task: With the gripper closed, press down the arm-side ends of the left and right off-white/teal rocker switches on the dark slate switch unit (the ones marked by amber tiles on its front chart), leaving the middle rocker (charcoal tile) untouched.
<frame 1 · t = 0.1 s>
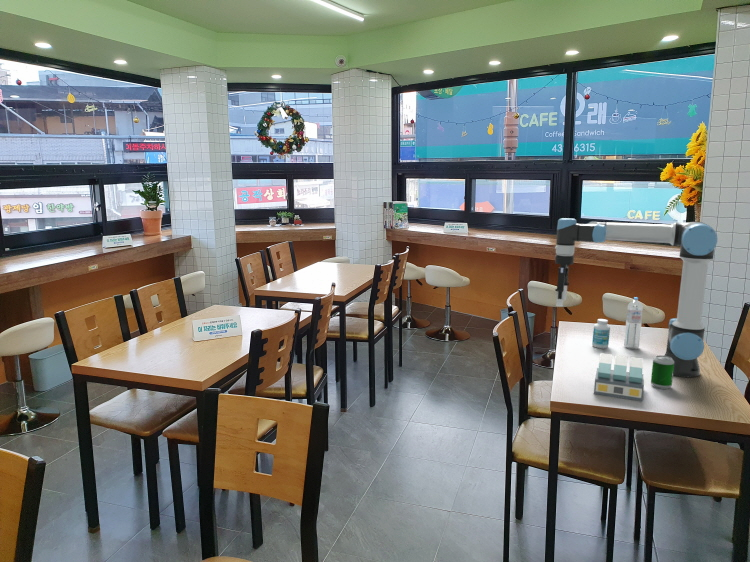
hand: (561, 303, 248), 28 cm above the table, fingers open, 13 cm apart
soda can: (660, 386, 228), on the table
switch unit: (618, 391, 222), on the table
pill bottle: (600, 347, 280), on the table
rocker 2: (620, 367, 221), point 10 cm above the table, hinge at -21.0°
rocker 1: (635, 369, 218), point 10 cm above the table, hinge at -21.0°
water bottle: (631, 347, 279), on the table
rocker 3: (605, 365, 223), point 10 cm above the table, hinge at -21.0°
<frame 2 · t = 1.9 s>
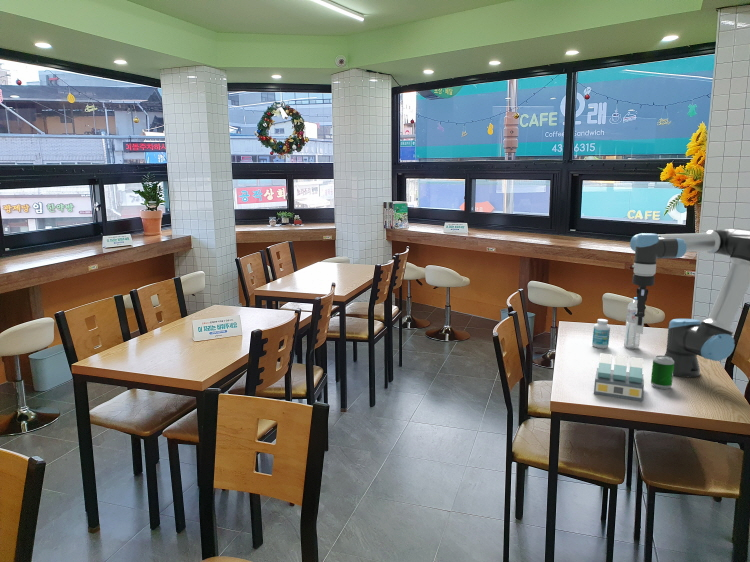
hand: (638, 329, 220), 24 cm above the table, fingers open, 12 cm apart
nothing on the table moved.
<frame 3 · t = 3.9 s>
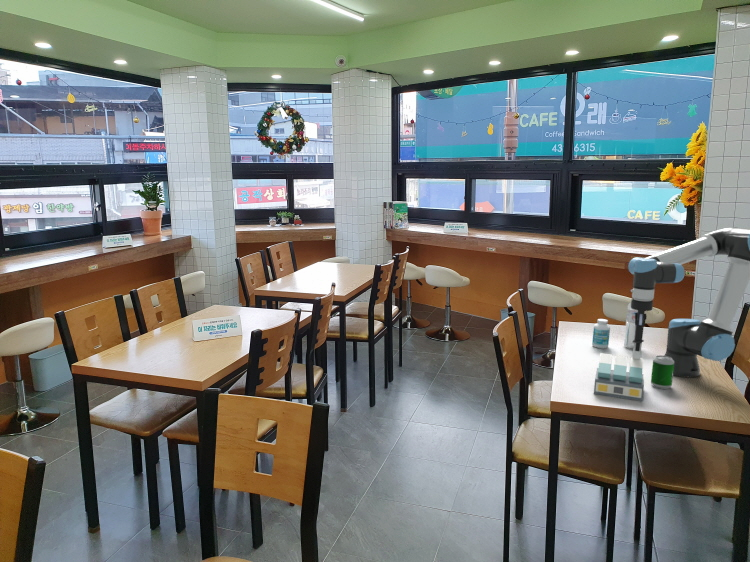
hand: (636, 358, 222), 13 cm above the table, fingers closed
rocker 1: (635, 369, 218), point 10 cm above the table, hinge at -21.0°, touching gripper
everything else where it was.
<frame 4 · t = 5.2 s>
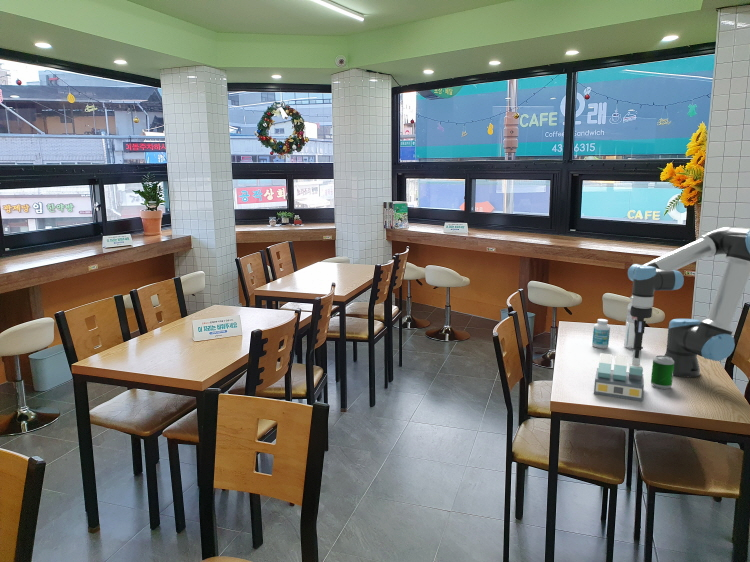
hand: (635, 365, 222), 10 cm above the table, fingers closed
rocker 1: (635, 369, 218), point 10 cm above the table, hinge at 10.5°, touching gripper
everything else where it was.
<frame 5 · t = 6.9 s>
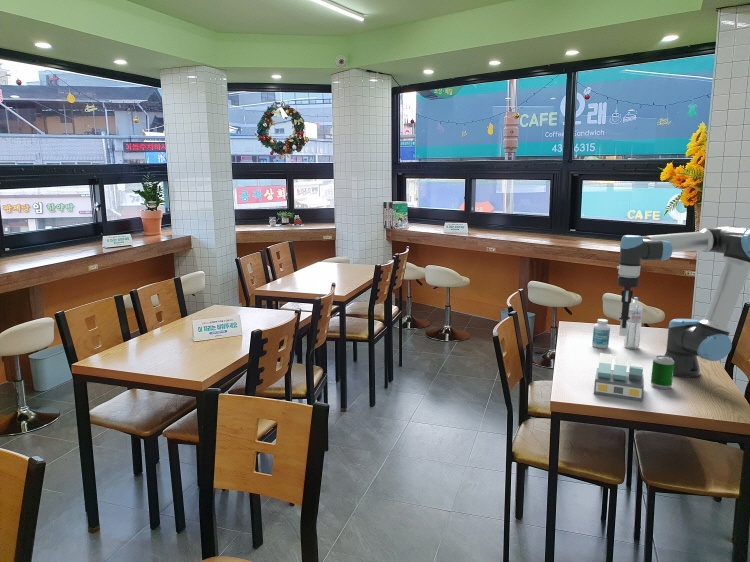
hand: (623, 335, 222), 21 cm above the table, fingers closed
rocker 1: (635, 369, 218), point 10 cm above the table, hinge at 10.6°
everything else where it was.
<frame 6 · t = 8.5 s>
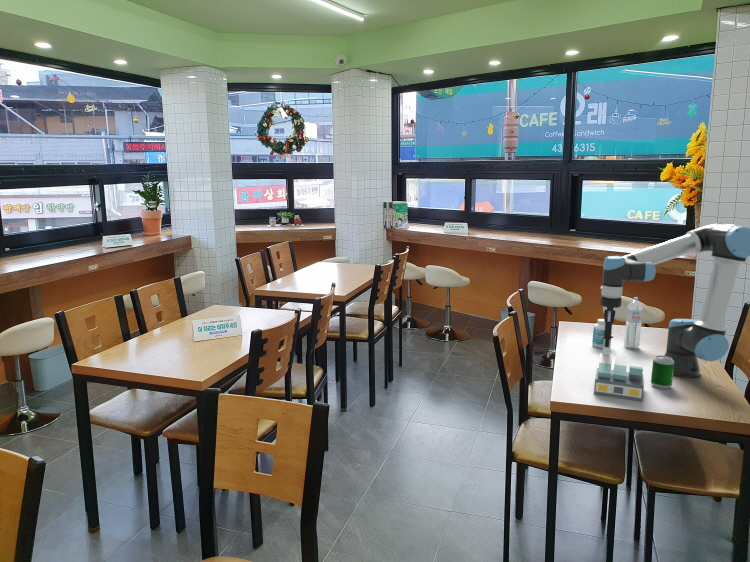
hand: (606, 354, 226), 13 cm above the table, fingers closed
rocker 3: (605, 365, 223), point 10 cm above the table, hinge at -21.0°, touching gripper
everything else where it was.
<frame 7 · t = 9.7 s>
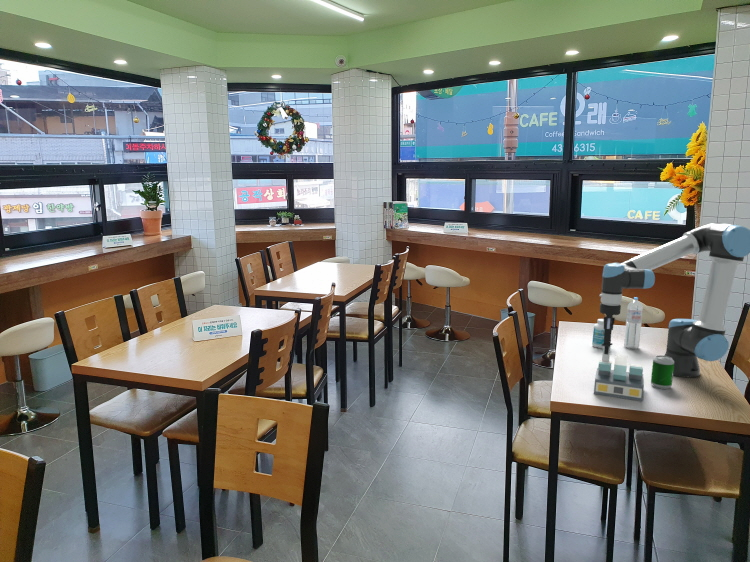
hand: (605, 361, 227), 10 cm above the table, fingers closed
rocker 3: (605, 365, 223), point 10 cm above the table, hinge at 10.3°, touching gripper
everything else where it was.
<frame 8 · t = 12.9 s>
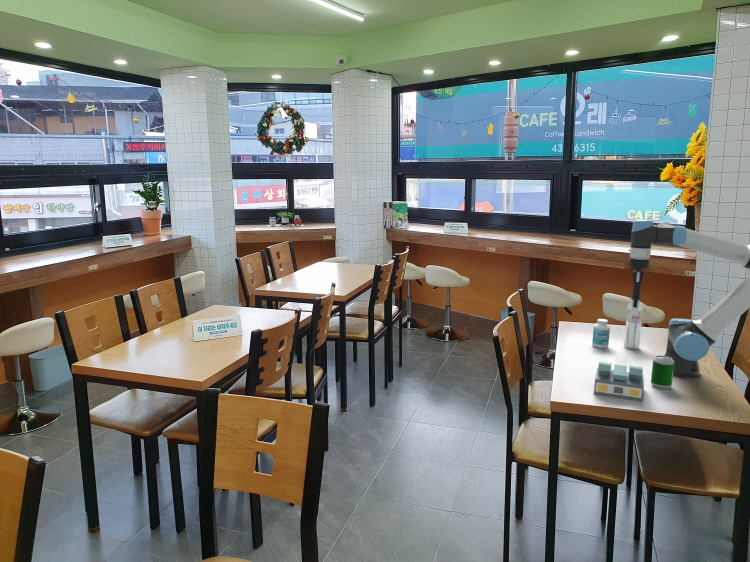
hand: (634, 314, 235), 26 cm above the table, fingers closed
rocker 3: (605, 365, 223), point 10 cm above the table, hinge at 10.5°
everything else where it was.
at the end: rocker 1 at +11° (first picture: -21°); rocker 3 at +10° (first picture: -21°); rocker 2 at -21° (first picture: -21°) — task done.
